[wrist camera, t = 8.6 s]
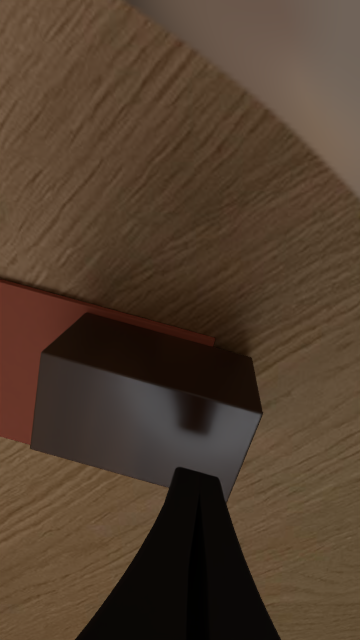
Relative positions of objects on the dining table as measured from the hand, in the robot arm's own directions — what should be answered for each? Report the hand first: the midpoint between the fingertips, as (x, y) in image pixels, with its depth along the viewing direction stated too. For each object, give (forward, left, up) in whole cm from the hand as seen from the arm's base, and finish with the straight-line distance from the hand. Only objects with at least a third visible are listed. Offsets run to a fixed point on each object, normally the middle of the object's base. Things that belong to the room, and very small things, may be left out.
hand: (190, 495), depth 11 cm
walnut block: (-2, 0, -4) cm, 5 cm away
